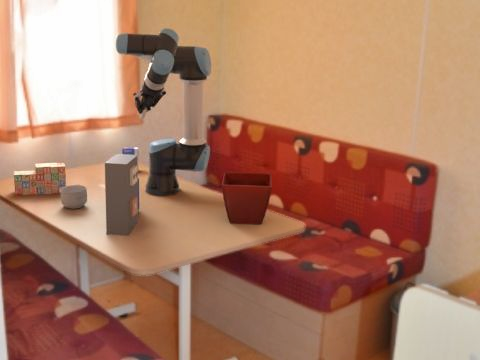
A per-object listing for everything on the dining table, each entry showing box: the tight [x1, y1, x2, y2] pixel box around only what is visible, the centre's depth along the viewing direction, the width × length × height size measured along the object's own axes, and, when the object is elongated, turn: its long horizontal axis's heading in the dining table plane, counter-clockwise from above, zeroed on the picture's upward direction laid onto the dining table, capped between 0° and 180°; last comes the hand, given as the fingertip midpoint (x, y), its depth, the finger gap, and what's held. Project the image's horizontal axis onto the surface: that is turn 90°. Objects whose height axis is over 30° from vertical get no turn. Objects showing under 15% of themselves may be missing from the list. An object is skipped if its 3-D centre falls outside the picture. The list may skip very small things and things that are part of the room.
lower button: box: [130, 196, 139, 217], centre depth 239 cm, size 8×6×6 cm
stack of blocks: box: [13, 162, 67, 196], centre depth 280 cm, size 21×6×12 cm, turn 108°
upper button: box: [130, 165, 137, 186], centre depth 236 cm, size 8×6×6 cm
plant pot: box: [221, 171, 273, 225], centre depth 255 cm, size 19×19×17 cm
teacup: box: [59, 183, 88, 210], centre depth 265 cm, size 14×11×8 cm
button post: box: [104, 153, 139, 237], centre depth 238 cm, size 8×14×27 cm, turn 173°
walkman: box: [121, 147, 140, 159], centre depth 318 cm, size 8×3×12 cm, turn 102°
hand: (140, 115), depth 254 cm, fingers closed
